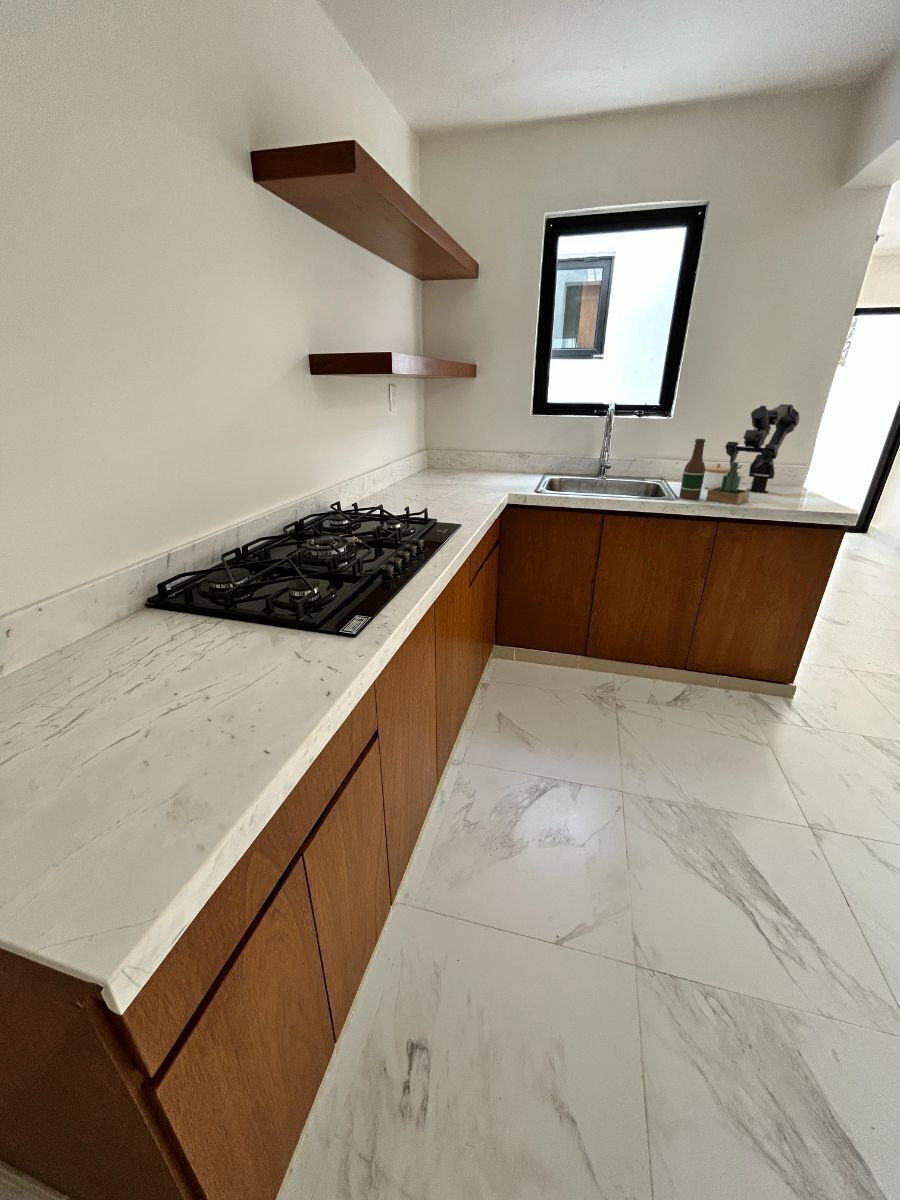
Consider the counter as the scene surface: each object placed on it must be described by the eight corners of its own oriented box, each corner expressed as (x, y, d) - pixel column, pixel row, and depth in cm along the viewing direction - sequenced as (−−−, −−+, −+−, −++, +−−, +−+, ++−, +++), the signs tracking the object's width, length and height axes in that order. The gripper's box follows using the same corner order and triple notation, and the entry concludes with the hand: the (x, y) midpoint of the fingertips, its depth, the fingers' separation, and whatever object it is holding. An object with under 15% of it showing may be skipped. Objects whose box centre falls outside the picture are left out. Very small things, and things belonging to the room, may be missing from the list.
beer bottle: (698, 498, 209) (710, 438, 200) (700, 501, 203) (712, 440, 193) (678, 496, 212) (689, 437, 202) (679, 500, 205) (690, 439, 196)
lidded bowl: (734, 490, 225) (740, 465, 221) (706, 490, 225) (711, 465, 221) (721, 485, 237) (726, 461, 233) (694, 485, 237) (698, 461, 233)
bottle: (715, 498, 207) (723, 461, 201) (732, 499, 206) (740, 461, 200) (721, 501, 201) (729, 463, 195) (738, 502, 200) (746, 463, 194)
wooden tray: (717, 497, 211) (719, 486, 209) (747, 501, 203) (749, 490, 201) (705, 501, 204) (708, 490, 202) (736, 505, 196) (738, 494, 194)
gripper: (732, 421, 206) (715, 451, 204) (783, 423, 193) (766, 455, 191) (735, 439, 214) (719, 468, 212) (784, 442, 201) (768, 473, 199)
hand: (742, 466), depth 203 cm, fingers open, 9 cm apart
